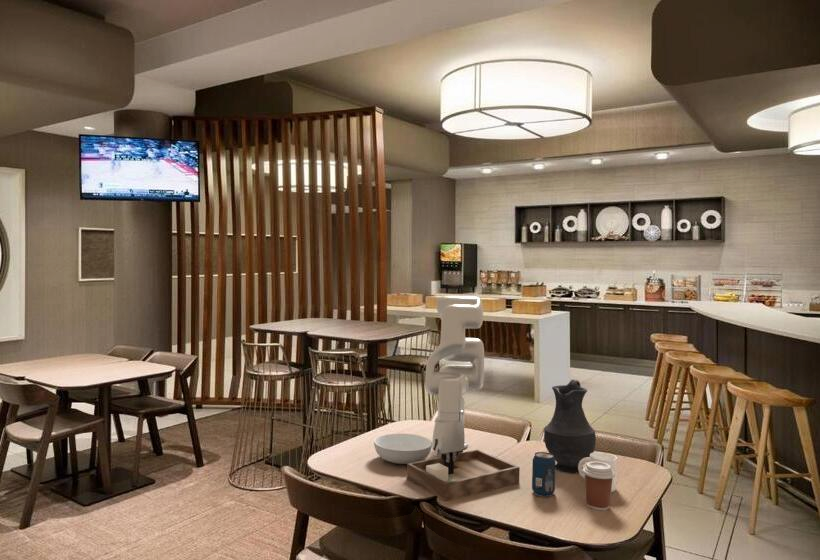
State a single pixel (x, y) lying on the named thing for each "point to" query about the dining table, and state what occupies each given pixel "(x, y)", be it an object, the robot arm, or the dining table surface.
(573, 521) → the dining table surface
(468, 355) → the robot arm
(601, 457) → the mug
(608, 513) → the dining table surface
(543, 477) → the soda can
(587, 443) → the pitcher
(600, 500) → the coffee cup
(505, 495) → the dining table surface
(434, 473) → the block
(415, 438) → the serving bowl
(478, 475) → the trap box
